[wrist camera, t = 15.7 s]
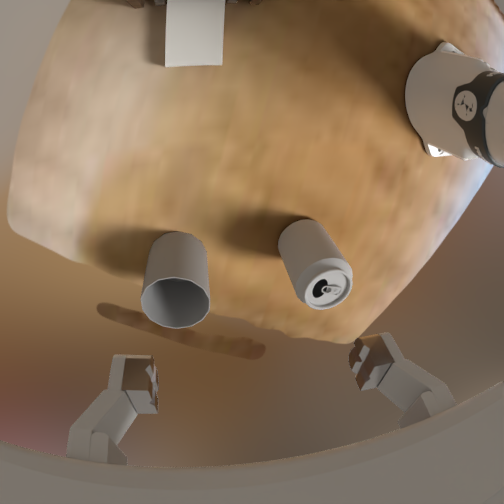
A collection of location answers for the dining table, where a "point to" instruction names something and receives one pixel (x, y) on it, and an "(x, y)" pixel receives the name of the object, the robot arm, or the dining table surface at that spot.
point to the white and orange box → (194, 32)
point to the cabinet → (138, 2)
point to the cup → (176, 281)
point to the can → (315, 265)
